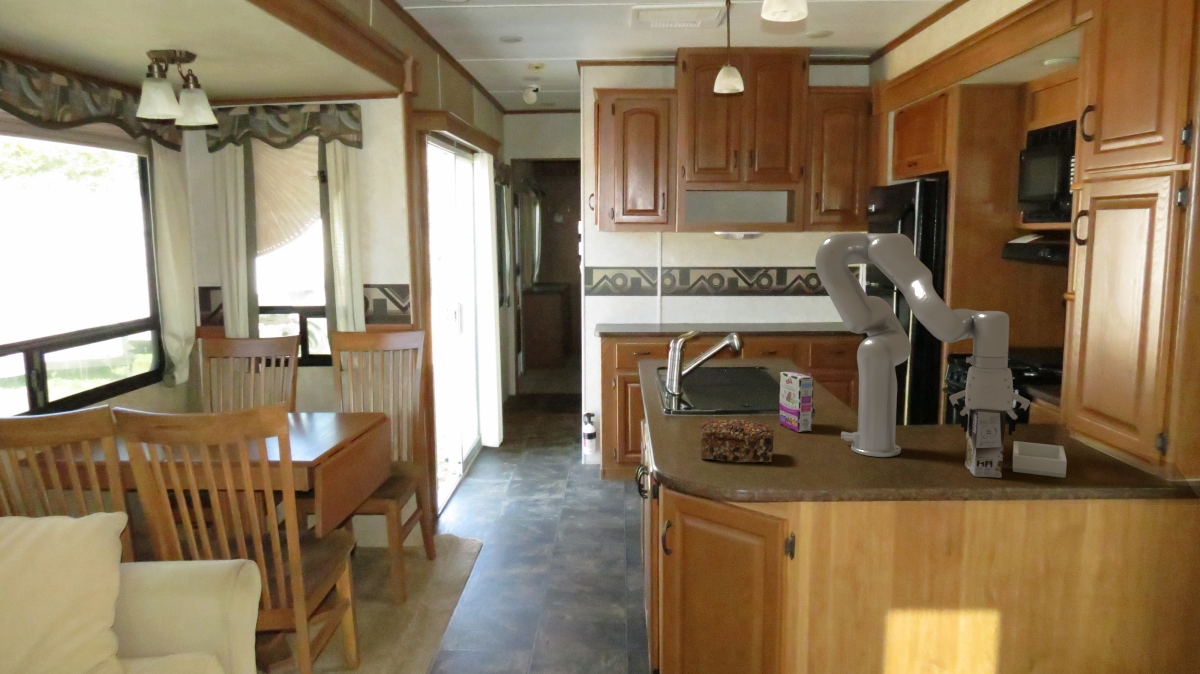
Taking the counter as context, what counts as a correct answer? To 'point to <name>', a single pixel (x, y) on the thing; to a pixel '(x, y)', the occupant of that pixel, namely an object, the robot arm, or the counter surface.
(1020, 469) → the holder
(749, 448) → the bread
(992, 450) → the coffee box
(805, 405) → the candy bar box
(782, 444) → the counter surface
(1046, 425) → the counter surface
